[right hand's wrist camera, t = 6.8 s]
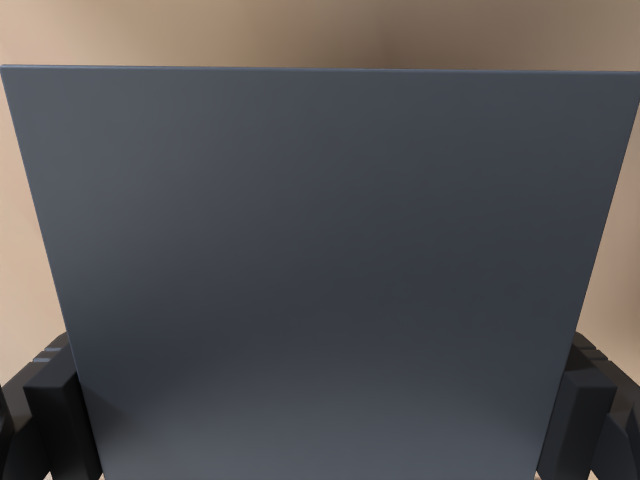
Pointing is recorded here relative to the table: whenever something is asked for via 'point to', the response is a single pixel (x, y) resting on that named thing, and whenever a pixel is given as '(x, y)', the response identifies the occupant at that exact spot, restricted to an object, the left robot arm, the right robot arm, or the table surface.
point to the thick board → (320, 260)
